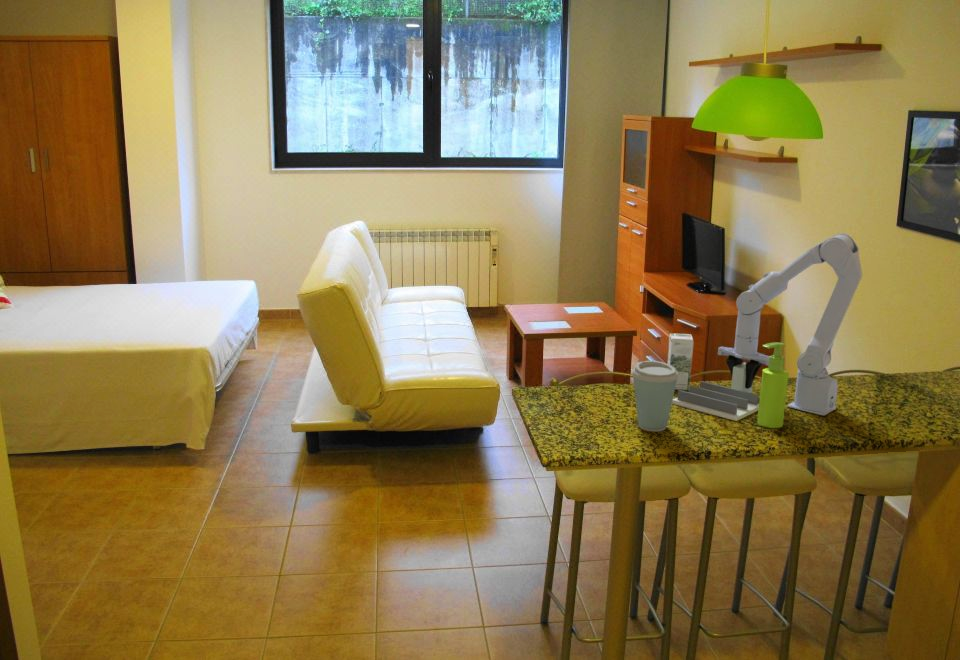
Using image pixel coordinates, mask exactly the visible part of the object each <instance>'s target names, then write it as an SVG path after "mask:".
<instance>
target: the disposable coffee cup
mask: <svg viewBox="0 0 960 660" xmlns="http://www.w3.org/2000/svg"><path fill="white" fill-rule="evenodd" d="M631 374H632V375H631V376H632V377H633V386H634V387H633V388H634V395H635V396H634V397H635V405H636V406H635V408H636V415H637V425H638V427H639V428H640V429H642V430H644V431H647V432H655V433H656V432H663V431H664V430H666V428H667V427H668V423H669V418H670V413H671V409H672V405H673V404H672V400H673V399H674V395H675V391H676V390H675V386H676V381H677V379H678V372H677V371H676V369H675V368H674V367H672V366H671V365H669V364H667V363H665V362H662V361H659V360H642V361H639V362H636V363H635V366H634V367H633V369H632V373H631Z"/></svg>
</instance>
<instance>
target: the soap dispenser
mask: <svg viewBox="0 0 960 660" xmlns="http://www.w3.org/2000/svg"><path fill="white" fill-rule="evenodd" d="M786 346H787V344H786V343H784V342H776V341H774V342H773V341H772V342H768V343H765V344H762V348H765V349H767V350H769V349H773V348H774V349H773V354H772V355H769V356H770V358H769V366H767V367H766V368H763V369H762V373H761V383H760V392H759V399H758V403H759V409H758V411H757V420H756V423H757V424H758V425H759V426H761V427H764V428H770V429H778V428H781V427H782V428H783V426H784V419H785V418H784V417H785V410H786V409H785V408H786V399H787V389H788V381H789V374H790V373H789V371H787V370H785V369H784V368H785V367H784V366H785V356H783V355H782V351H783V348H786Z"/></svg>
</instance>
